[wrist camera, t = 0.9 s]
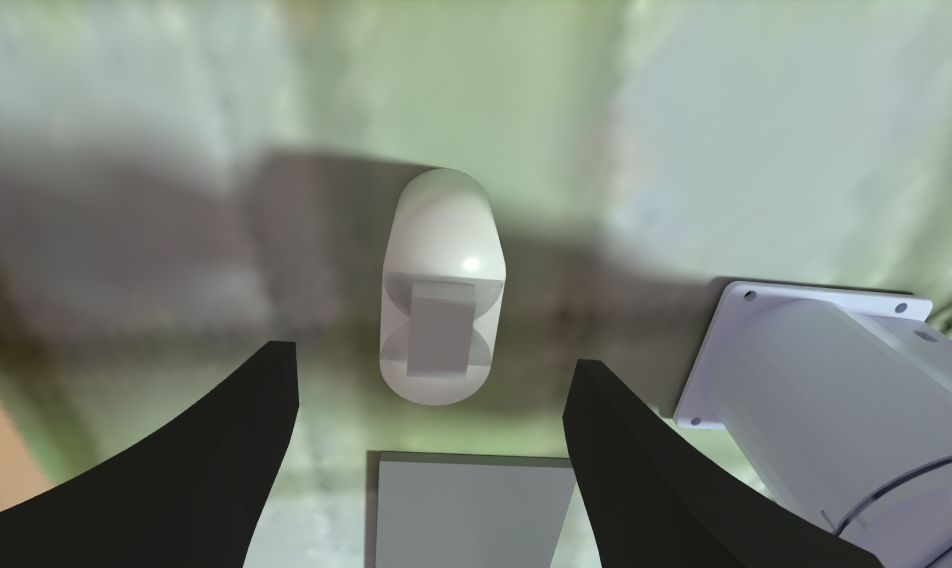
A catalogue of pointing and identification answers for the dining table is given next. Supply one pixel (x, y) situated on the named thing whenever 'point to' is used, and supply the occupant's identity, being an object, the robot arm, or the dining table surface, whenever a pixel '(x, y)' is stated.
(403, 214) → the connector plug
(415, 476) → the slate coaster
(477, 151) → the dining table surface
